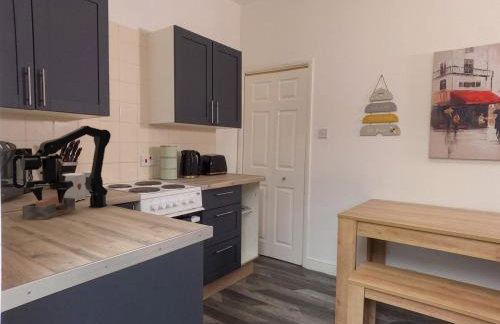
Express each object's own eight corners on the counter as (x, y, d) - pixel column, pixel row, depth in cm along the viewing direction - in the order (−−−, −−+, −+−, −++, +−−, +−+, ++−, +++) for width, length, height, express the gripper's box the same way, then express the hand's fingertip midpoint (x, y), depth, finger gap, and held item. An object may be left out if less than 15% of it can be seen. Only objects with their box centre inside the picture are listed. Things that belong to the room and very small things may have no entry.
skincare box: (81, 197, 184) (80, 172, 183) (83, 195, 190) (82, 171, 189) (96, 196, 186) (96, 171, 185) (98, 194, 192) (98, 170, 191)
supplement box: (76, 202, 168) (76, 175, 167) (60, 202, 169) (59, 174, 168) (86, 199, 177) (85, 173, 176) (70, 199, 178) (69, 173, 177)
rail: (56, 204, 149) (56, 195, 149) (64, 204, 149) (63, 196, 149) (35, 210, 135) (35, 201, 135) (43, 210, 135) (43, 201, 135)
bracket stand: (75, 209, 152) (74, 198, 152) (46, 219, 132) (46, 206, 132) (54, 208, 153) (54, 197, 152) (22, 219, 132) (22, 206, 132)
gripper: (79, 167, 149) (80, 200, 150) (41, 167, 149) (43, 199, 150) (65, 170, 138) (66, 204, 139) (24, 169, 138) (25, 203, 139)
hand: (50, 202), depth 142 cm, fingers open, 9 cm apart
